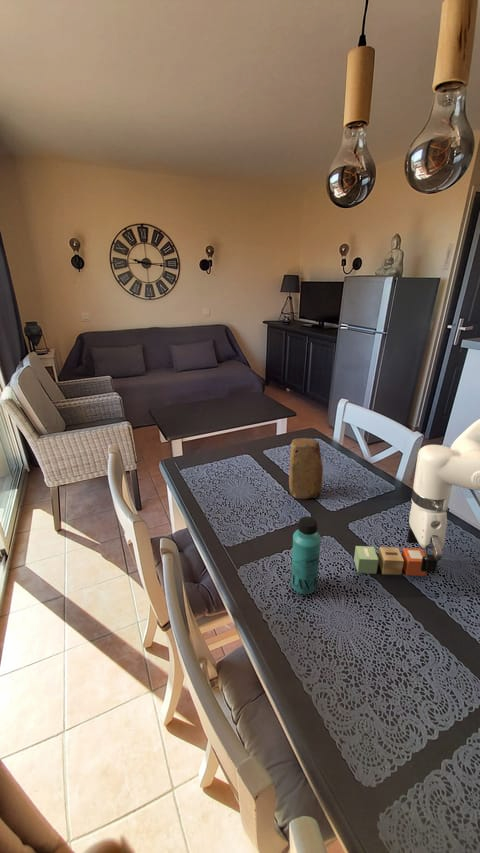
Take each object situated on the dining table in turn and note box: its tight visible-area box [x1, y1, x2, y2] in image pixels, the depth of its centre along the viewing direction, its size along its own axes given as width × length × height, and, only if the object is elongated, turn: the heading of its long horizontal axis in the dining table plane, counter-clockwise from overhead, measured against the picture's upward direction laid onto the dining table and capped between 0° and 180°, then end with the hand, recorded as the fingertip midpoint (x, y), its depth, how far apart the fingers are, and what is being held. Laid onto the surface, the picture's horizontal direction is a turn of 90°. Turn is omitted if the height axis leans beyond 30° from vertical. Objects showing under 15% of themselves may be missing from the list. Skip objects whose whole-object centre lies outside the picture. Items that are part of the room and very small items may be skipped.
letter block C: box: [401, 547, 427, 577], centre depth 90 cm, size 5×5×5 cm
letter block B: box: [353, 545, 379, 575], centre depth 91 cm, size 5×5×5 cm
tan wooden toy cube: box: [377, 546, 404, 576], centre depth 91 cm, size 5×5×5 cm
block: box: [288, 437, 324, 500], centre depth 119 cm, size 11×8×20 cm
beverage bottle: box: [289, 515, 322, 595], centre depth 83 cm, size 6×7×20 cm
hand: (420, 555), depth 89 cm, fingers open, 9 cm apart
